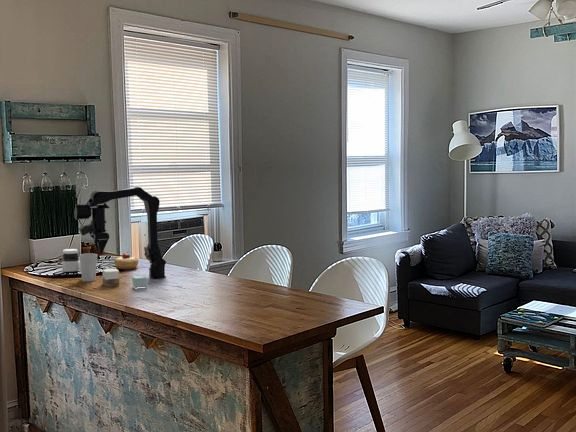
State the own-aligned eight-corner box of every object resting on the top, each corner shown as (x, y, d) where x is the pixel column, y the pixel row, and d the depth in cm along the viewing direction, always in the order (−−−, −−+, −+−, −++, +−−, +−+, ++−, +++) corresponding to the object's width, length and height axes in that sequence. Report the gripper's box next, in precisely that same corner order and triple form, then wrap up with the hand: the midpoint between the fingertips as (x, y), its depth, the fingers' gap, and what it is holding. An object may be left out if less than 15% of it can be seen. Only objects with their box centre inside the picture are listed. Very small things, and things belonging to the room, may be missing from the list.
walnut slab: (116, 283, 287) (115, 275, 287) (119, 286, 282) (119, 278, 282) (102, 284, 284) (102, 277, 284) (105, 287, 279) (105, 279, 279)
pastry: (109, 269, 317) (109, 252, 315) (122, 265, 328) (122, 248, 327) (130, 271, 313) (130, 254, 312) (142, 267, 324) (142, 250, 323)
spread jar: (61, 271, 309) (61, 248, 308) (85, 270, 314) (84, 247, 312) (63, 276, 298) (63, 252, 297) (88, 274, 303) (87, 251, 302)
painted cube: (143, 286, 282) (143, 275, 281) (146, 288, 278) (146, 277, 277) (132, 287, 280) (132, 276, 279) (135, 289, 275) (135, 278, 275)
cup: (86, 282, 286) (86, 257, 285) (76, 280, 291) (75, 254, 290) (101, 279, 293) (100, 254, 291) (90, 277, 297) (90, 252, 296)
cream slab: (115, 275, 287) (115, 268, 287) (119, 278, 282) (119, 270, 281) (102, 277, 284) (102, 269, 284) (105, 279, 279) (105, 272, 278)
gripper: (77, 216, 288) (78, 249, 290) (83, 221, 271) (84, 256, 273) (101, 215, 293) (102, 248, 295) (109, 220, 276) (109, 255, 278)
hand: (99, 251), depth 285 cm, fingers open, 9 cm apart
